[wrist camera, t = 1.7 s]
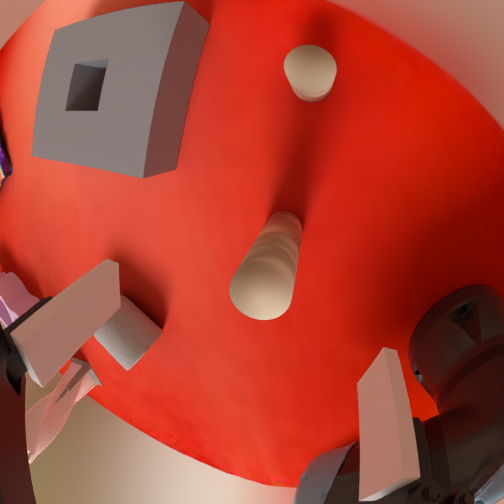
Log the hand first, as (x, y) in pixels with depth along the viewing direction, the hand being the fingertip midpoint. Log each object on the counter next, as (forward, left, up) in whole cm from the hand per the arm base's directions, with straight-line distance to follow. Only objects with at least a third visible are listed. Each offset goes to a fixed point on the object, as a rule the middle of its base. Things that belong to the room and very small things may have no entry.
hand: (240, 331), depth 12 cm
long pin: (0, 0, -16) cm, 16 cm away
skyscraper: (+32, +44, -16) cm, 57 cm away
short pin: (+1, -14, -16) cm, 21 cm away
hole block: (+21, -11, -16) cm, 28 cm away
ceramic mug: (+16, +20, -16) cm, 30 cm away
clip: (+50, +32, -16) cm, 61 cm away
